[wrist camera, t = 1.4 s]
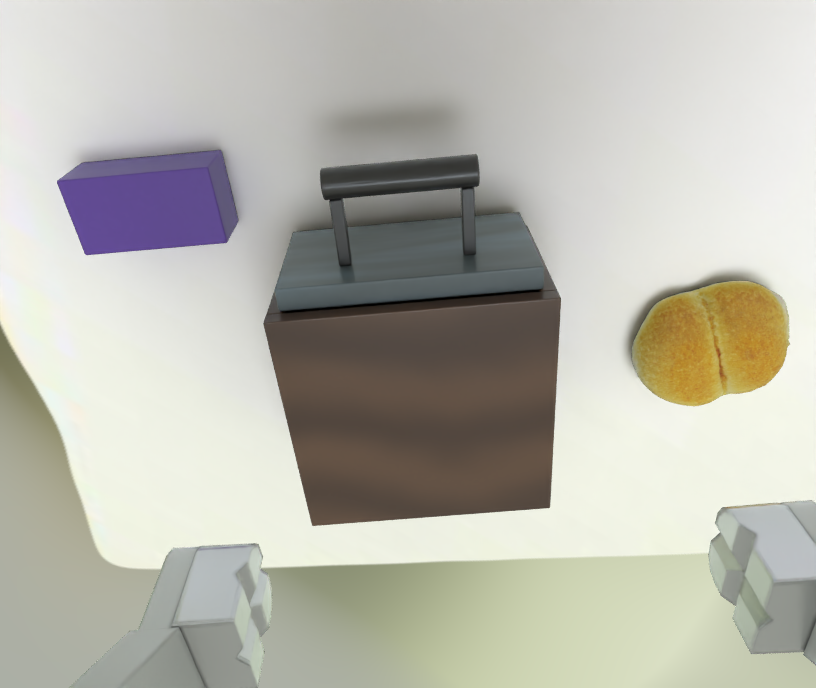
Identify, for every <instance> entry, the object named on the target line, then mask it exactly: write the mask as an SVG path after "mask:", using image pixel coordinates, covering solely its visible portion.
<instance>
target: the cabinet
mask: <svg viewBox="0 0 816 688" xmlns="http://www.w3.org/2000/svg"><path fill="white" fill-rule="evenodd" d="M526 228H527V231H528V233H529V235H530V237H531V239H532V242H533V244H534V246H535V248H536V250H537V252H538V255H539V257H540V259H541V261H542V263H543V265H544V288H543V289H538V290H526V291H519V292H520V294H508V295H496V296H484V297H473V298H461V299H449V300H437V301H425V302H413V303H402V304H390V305H378V306H366V307H354V308H343V309H331V310H319V311H307V312H304V311H305V309H302V310H290V311H279V309H278V304H277V300H276V295H275V291H274V293H273V296H272V300H271V303H270V306H269V309H268V312H267V315H266V317H265V320H264V323H263V324H264V328H265V332H266V336H267V341H268V345H269V349H270V353H271V357H272V361H273V365H274V370H275V374H276V378H277V382H278V386H279V390H280V394H281V399H282V403H283V407H284V411H285V415H286V419H287V423H288V428H289V432H290V436H291V440H292V444H293V448H294V452H295V456H296V461H297V465H298V469H299V473H300V477H301V481H302V485H303V490H304V494H305V498H306V502H307V506H308V510H309V514H310V519H311V523H312V526H317V525H331V524H344V523H357V522H370V521H384V520H397V519H410V518H423V517H436V516H450V515H463V514H476V513H489V512H502V511H516V510H529V509H542V508H550V499H551V479H552V460H553V441H554V422H555V403H556V384H557V365H558V346H559V327H560V308H561V298H560V295H559V293H558V291H557V289H556V287H555V285H554V282H553V280H552V278H551V276H550V274H549V272H548V270H547V267H546V265H545V263H544V261H543V259H542V257H541V255H540V253H539V250H538V248H537V246H536V244H535V242H534V240H533V238H532V235H531V233H530V231H529V229H528V227H527V226H526Z"/></svg>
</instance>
